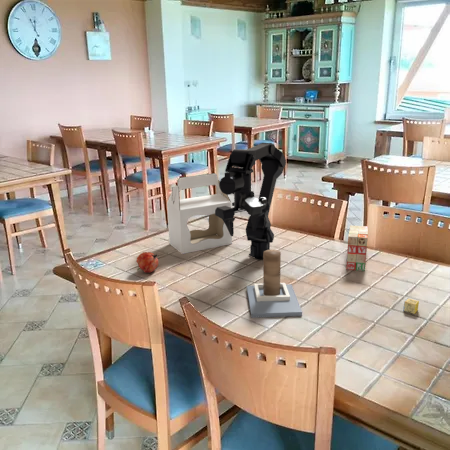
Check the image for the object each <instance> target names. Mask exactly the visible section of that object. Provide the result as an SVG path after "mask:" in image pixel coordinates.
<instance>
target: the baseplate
mask: <svg viewBox="0 0 450 450" xmlns="http://www.w3.org/2000/svg"><path fill="white" fill-rule="evenodd" d="M246 291H247V292H246V293H247V297H248V298H247V299H248V305H249V311H250V312H249V313H250V317H251V318H274V317H275V318H276V317H283V318H284V317H302V316H303V311H302V308H301V306H300V302H299V299H298V297H297V294H296V292H295V289H294V288H293V284H292V283H290V284H288V283H287V284H286V282H280V295H275V296H265V295H264V294H263V283H253V285H246Z"/></svg>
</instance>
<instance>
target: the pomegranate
mask: <svg viewBox="0 0 450 450" xmlns="http://www.w3.org/2000/svg"><path fill="white" fill-rule="evenodd" d="M159 256H160V255H158V254H157V253H156V254H154V253H152V252H151V251H150V252H149V251H144V252H142V253H139V255H137V258H136V263H137V265H138V269H137V270H136V271H137V272H138V271H139V270H141V271H142V272H144V273H145V274H150V273H153V272H154V271H155V270H156V269H157V268H158V267H159V259H158V258H157V257H159Z"/></svg>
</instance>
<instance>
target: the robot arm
mask: <svg viewBox="0 0 450 450" xmlns="http://www.w3.org/2000/svg"><path fill="white" fill-rule="evenodd" d="M256 161H259V162H260V164H261V171H262V173H263V178H262V182H261V187H260V192H259V195H258V197H255V193H254V191H252V173H254V169H253V167H254V166H255V165H256ZM286 164H287V158H286V157H285V155H284V153H283V151H281V150H280V149H278V148H277V147H276V145H275V144H274V143H272V142H261V143H259V144H257V145H255V146H254V145H253V146H252V147H250V148H247V149H244V148H243V149H242V148H241V149H239V148H238V149H233V150H232V151H231V153H230V154H229V157H228V159H227V164H226V167H225V169H224V176H223V177H222V178H221V179H220V180H219V181H220V183H219V187H220V190H221V191H222V192H223V193H224V194H226V195H233V202H231V208H230V207H228V206H222V207H217V208H216V210H215V216H218V217H219V218H221V219H222V220H223V221H224V223H225V225H226V227H227V229H228V231H229V233H230V235H231V236H232V237H234V221H235V220H236V217H235V214H236V213H242V212H246V213H247V214H248V215H249V216H248V217H247V218H248V220H247V224H246V227H245V235H246V239H247V241H250V242H251V243H250V252H249V253H248V256H250V257H252V258H253V259H256V260H257V261H260V260H263V252H264V251H266V250H271V248H270V246H271V243H274V239H275V234H274V232H273V230H272V229H271V226H272V224H271V222H270V218H269V214H270V210H271V206H272V201H273V196H274V191H275V188H276V183H277V179H278V178H279V177H280V176H282V174H283V173H284V169H285V167H286ZM232 206H233V207H232Z"/></svg>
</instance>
